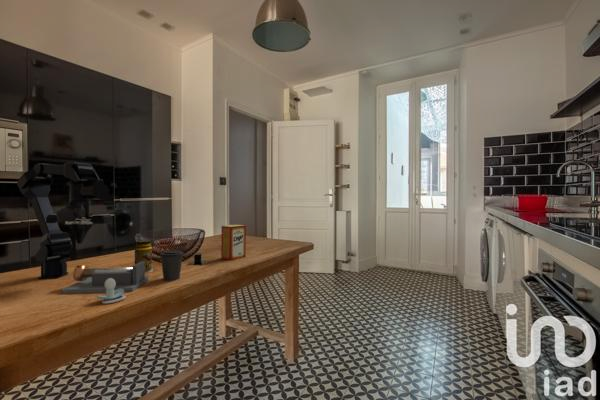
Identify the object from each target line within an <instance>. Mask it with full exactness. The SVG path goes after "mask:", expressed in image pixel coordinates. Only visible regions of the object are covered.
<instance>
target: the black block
mask: <svg viewBox="0 0 600 400" xmlns="http://www.w3.org/2000/svg"><path fill="white" fill-rule="evenodd" d="M190 265H191V266H205V260H204V259H202V253H201V252H198V253H195V252H194V255H193V260H191V263H190Z"/></svg>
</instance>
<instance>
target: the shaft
mask: <svg viewBox="0 0 600 400" xmlns="http://www.w3.org/2000/svg"><path fill="white" fill-rule="evenodd" d="M101 272H132V267H131V266H130V267H129V266H127V267H122V266H121V267H89V266H88V265H87V264H80V265H76V266H75V268H74V270H73V274H72V276H73V277H72V278H73V280H74V281H75V282H79V281H85V280H86V279H87V278H92V274H93V273H101Z"/></svg>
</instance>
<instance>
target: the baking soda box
mask: <svg viewBox="0 0 600 400" xmlns="http://www.w3.org/2000/svg"><path fill="white" fill-rule="evenodd" d="M246 227H247V225H245V224H244V225H243V224H226V225H221V240H220V241H221V246H220V247H221V252H220V253H221V255H220V256H221V258H220V259H222V260H226V261H235V260H238V258H239V259H242V257H244V258H246V250H247V249H246V243H247V242H246V240H247V239H246V236H247V235H246V234H247V233H246V232H247V231H246V230H247V228H246ZM234 259H235V260H234Z"/></svg>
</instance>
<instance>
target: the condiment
mask: <svg viewBox="0 0 600 400" xmlns="http://www.w3.org/2000/svg"><path fill="white" fill-rule="evenodd" d="M141 261H145V274H146V273H152V272H154V269H153V247H152V241H151V240H150V239H143V240H142V239H141V240H137V241H135V249H134V265H135V264H137V263H139V262H141Z"/></svg>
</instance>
